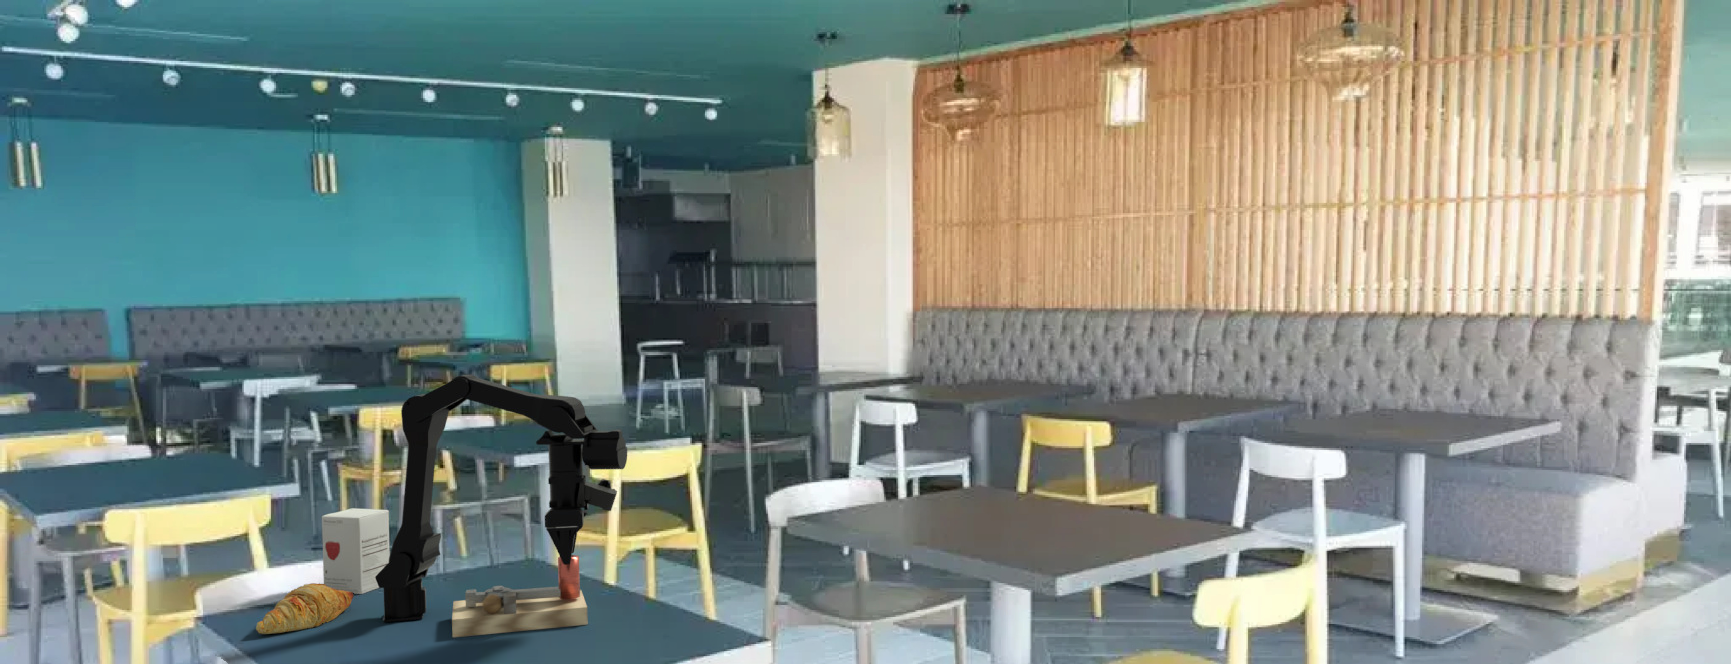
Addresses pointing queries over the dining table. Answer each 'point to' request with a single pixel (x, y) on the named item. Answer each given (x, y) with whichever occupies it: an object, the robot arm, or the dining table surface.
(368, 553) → the supplement box
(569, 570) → the lever
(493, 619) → the block
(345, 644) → the dining table surface
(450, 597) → the dining table surface
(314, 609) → the croissant
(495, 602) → the walnut
